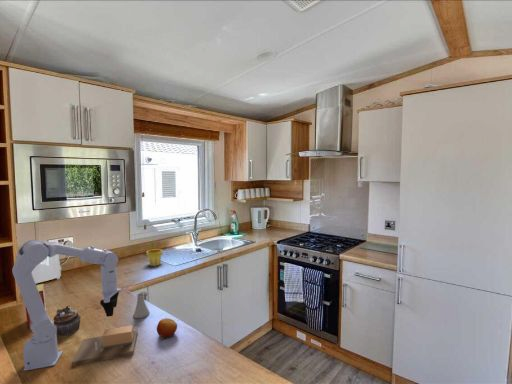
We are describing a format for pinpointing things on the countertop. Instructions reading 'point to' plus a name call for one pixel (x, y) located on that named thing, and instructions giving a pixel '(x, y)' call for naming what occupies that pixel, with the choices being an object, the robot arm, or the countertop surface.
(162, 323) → the fruit
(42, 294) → the baking soda box
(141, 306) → the flask
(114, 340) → the block
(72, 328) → the cupcake
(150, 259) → the plant pot
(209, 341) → the countertop surface
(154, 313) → the countertop surface
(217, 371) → the countertop surface
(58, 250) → the robot arm
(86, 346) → the board
